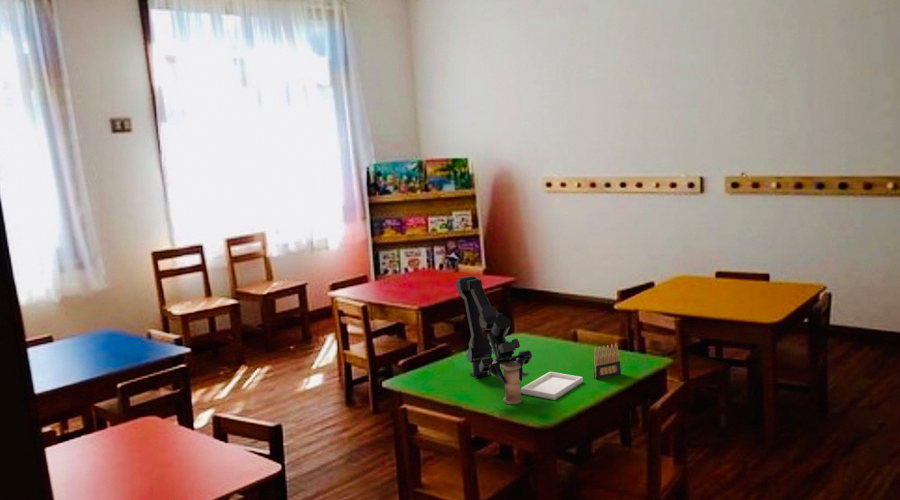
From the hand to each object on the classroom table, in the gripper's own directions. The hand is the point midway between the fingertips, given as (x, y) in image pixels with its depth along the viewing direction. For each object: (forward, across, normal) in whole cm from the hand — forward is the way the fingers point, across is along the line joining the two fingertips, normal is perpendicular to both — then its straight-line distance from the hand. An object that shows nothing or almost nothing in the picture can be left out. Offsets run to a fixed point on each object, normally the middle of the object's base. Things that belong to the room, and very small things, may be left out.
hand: (513, 382), depth 249 cm
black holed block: (-14, +13, +26) cm, 33 cm away
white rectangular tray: (+1, +18, +10) cm, 20 cm away
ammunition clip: (0, +41, +10) cm, 42 cm away
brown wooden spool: (+4, 0, +6) cm, 7 cm away
